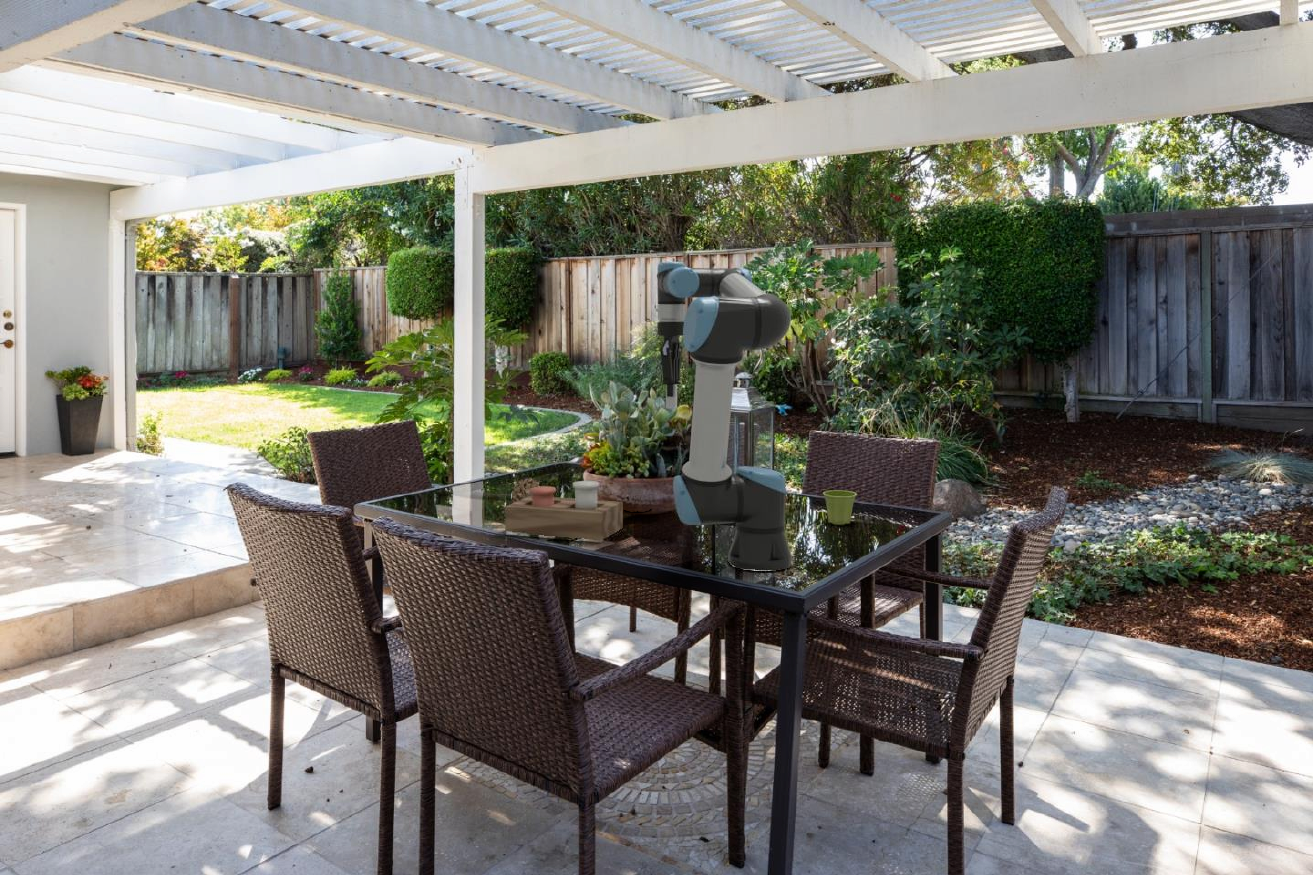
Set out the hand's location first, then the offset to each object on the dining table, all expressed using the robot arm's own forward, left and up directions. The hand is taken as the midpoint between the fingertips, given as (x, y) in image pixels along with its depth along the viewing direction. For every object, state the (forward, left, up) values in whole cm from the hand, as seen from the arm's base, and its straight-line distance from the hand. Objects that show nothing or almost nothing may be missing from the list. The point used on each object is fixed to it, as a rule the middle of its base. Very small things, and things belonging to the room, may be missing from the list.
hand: (671, 408), depth 250 cm
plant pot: (+26, -42, -35) cm, 61 cm away
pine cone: (+9, +49, -35) cm, 60 cm away
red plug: (-10, +34, -33) cm, 49 cm away
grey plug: (-10, +21, -31) cm, 39 cm away
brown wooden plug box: (-10, +28, -34) cm, 45 cm away
